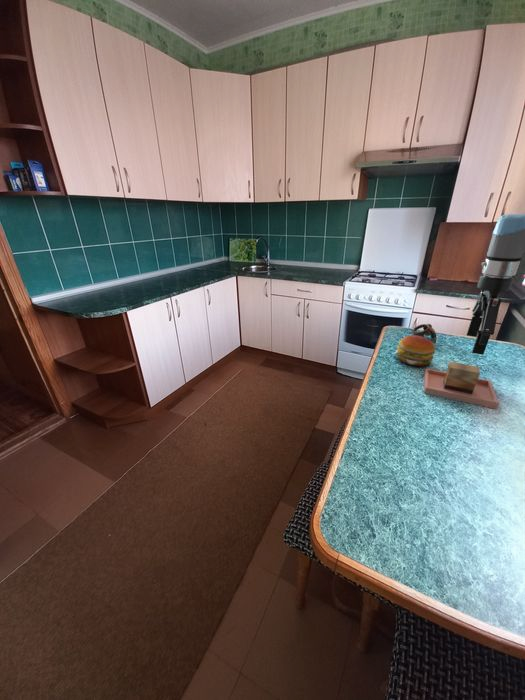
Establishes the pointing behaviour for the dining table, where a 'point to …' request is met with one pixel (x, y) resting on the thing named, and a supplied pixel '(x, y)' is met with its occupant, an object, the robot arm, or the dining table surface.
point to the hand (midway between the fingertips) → (474, 344)
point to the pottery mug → (425, 331)
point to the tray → (480, 395)
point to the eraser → (461, 377)
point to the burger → (415, 350)
